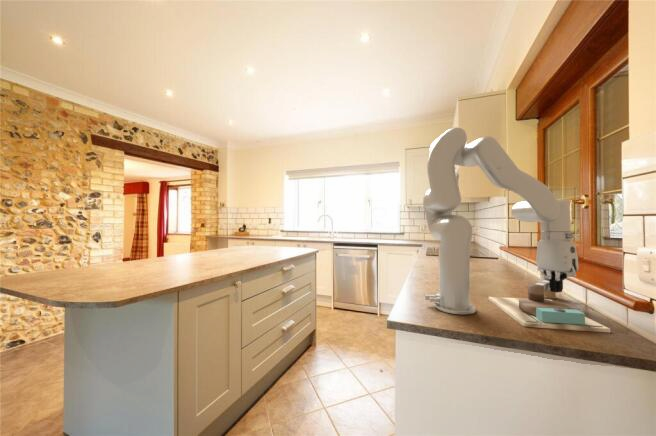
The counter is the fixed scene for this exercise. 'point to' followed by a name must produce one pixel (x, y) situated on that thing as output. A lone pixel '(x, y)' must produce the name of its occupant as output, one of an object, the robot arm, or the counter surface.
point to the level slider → (560, 316)
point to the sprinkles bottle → (547, 293)
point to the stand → (531, 321)
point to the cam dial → (538, 298)
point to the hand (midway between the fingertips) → (556, 291)
